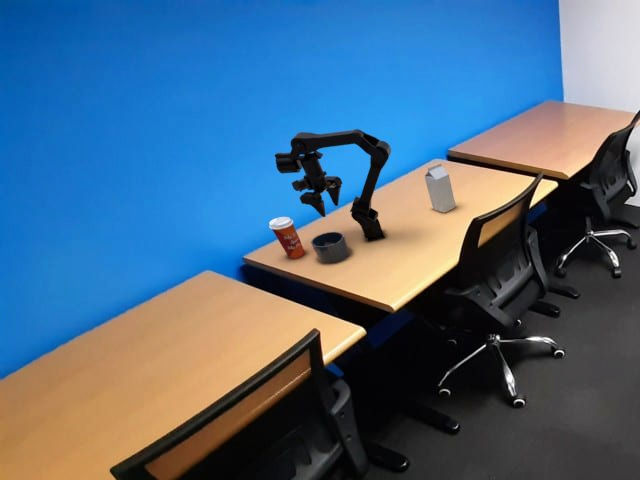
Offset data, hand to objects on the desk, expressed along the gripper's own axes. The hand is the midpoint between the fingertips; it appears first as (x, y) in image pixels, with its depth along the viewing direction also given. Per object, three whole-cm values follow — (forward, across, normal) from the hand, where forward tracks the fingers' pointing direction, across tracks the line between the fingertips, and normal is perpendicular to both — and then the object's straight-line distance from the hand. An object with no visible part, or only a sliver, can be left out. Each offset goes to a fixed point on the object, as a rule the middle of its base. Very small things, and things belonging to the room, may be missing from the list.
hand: (330, 211), depth 177 cm
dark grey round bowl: (+12, +12, +3) cm, 17 cm away
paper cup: (+12, +13, -11) cm, 21 cm away
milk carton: (+12, -30, +32) cm, 45 cm away
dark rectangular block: (+10, +12, +4) cm, 16 cm away
